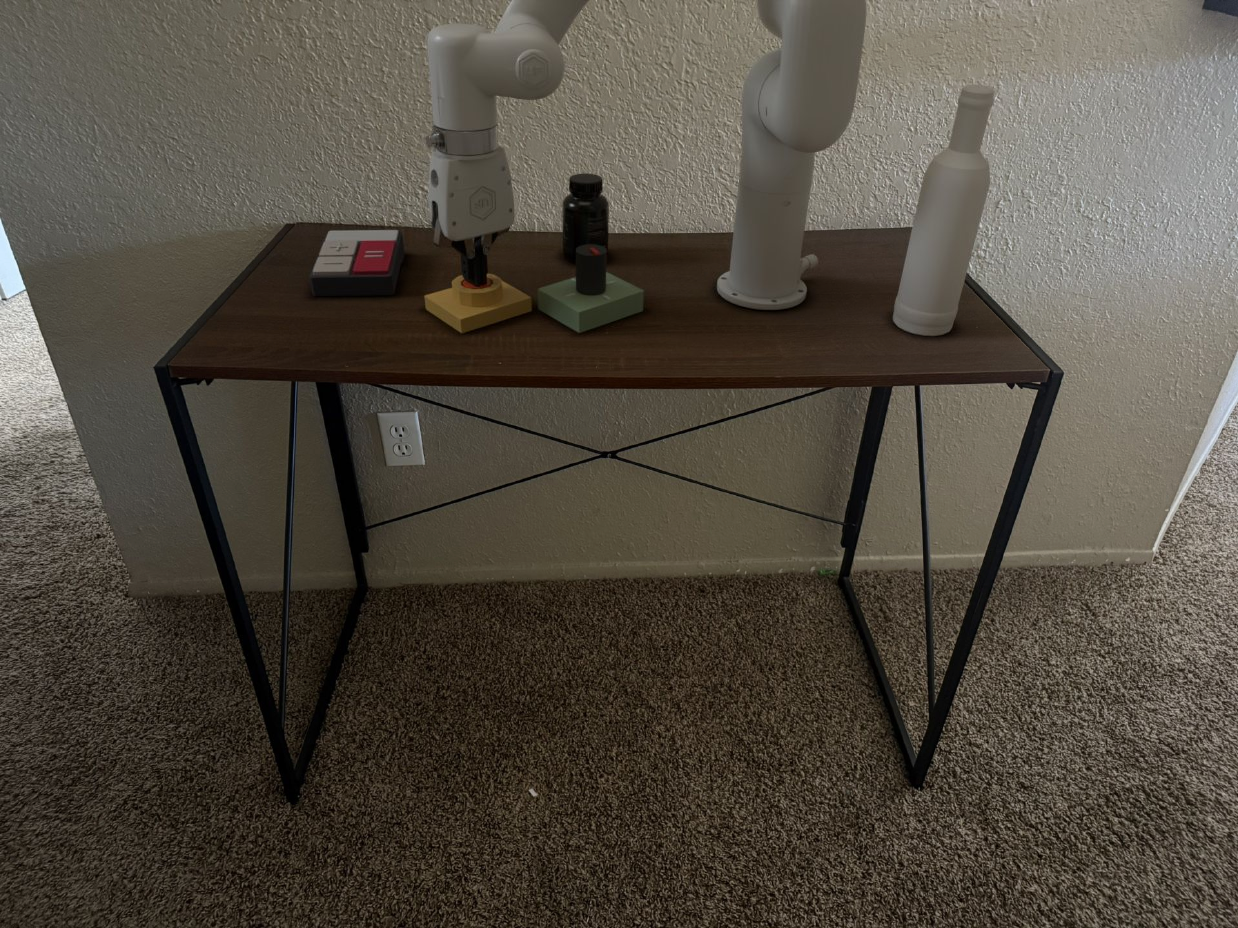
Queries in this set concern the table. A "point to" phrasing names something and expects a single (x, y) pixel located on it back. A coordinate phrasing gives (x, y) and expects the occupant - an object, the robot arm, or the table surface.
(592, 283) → the lock dial
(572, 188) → the supplement bottle
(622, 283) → the dial panel
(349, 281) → the calculator
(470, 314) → the tan flat block
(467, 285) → the button
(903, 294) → the bottle
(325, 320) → the table surface
